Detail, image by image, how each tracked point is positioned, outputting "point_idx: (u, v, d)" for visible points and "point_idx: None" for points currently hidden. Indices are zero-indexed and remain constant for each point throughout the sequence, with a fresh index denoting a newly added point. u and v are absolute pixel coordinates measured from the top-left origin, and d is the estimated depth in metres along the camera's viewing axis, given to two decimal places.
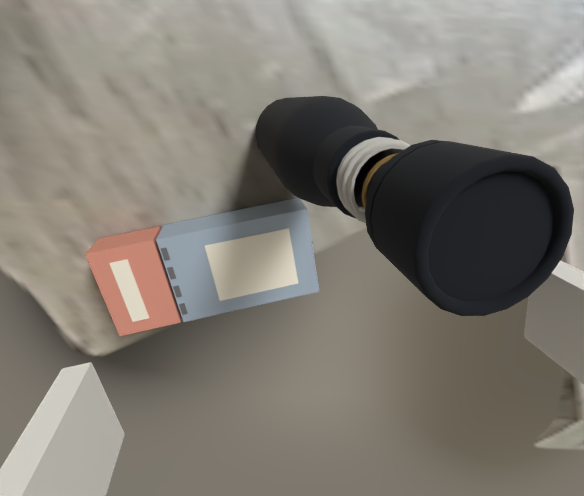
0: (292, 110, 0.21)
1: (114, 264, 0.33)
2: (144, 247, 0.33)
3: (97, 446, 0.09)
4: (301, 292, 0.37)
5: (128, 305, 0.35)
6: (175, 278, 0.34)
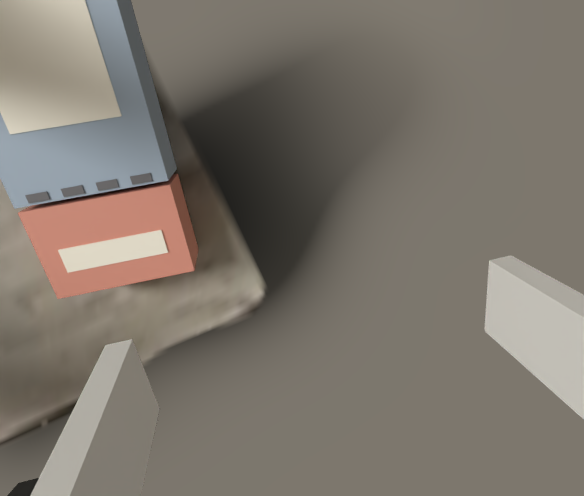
0: None
1: (69, 266, 0.23)
2: (33, 225, 0.22)
3: (140, 416, 0.10)
4: None
5: (139, 254, 0.24)
6: (81, 185, 0.22)
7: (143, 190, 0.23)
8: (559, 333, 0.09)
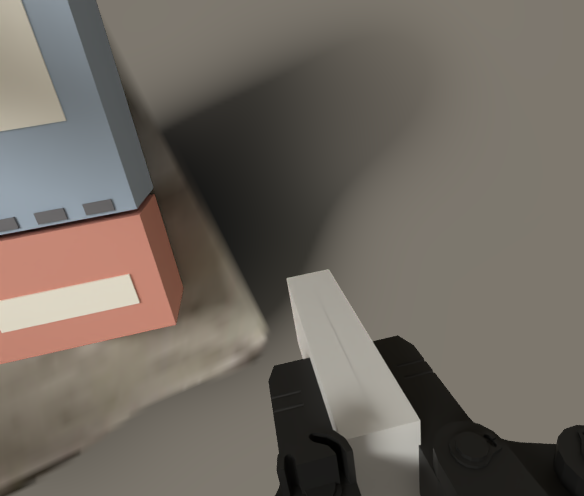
0: None
1: (3, 325, 0.17)
2: None
3: None
4: None
5: (100, 306, 0.18)
6: (13, 218, 0.15)
7: (102, 222, 0.16)
8: None
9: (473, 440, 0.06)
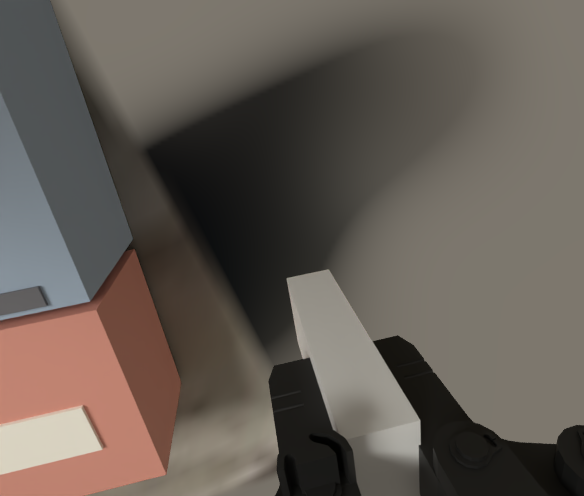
0: None
1: None
2: None
3: None
4: None
5: (33, 457, 0.10)
6: None
7: (27, 325, 0.09)
8: None
9: (473, 440, 0.06)
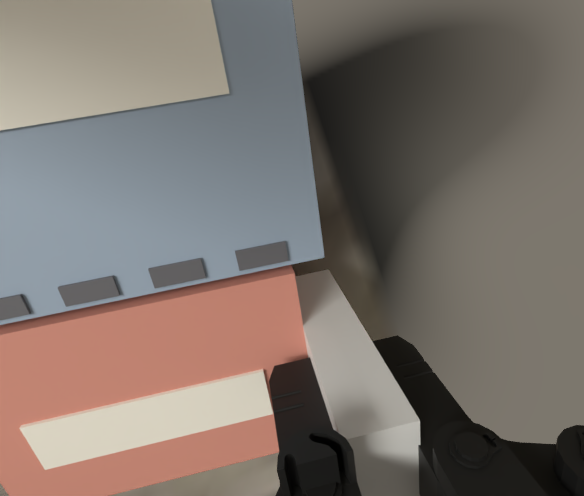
0: None
1: (48, 456, 0.10)
2: None
3: None
4: None
5: (208, 420, 0.10)
6: (112, 278, 0.08)
7: (230, 287, 0.09)
8: None
9: (472, 440, 0.06)
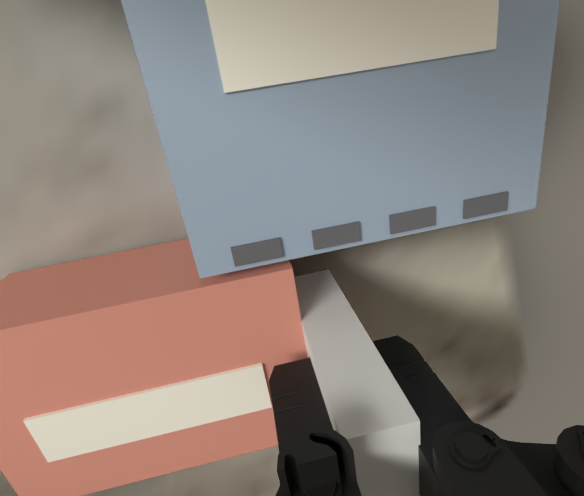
0: None
1: (51, 449, 0.10)
2: None
3: None
4: None
5: (209, 414, 0.11)
6: (359, 223, 0.09)
7: (229, 282, 0.09)
8: None
9: (472, 440, 0.06)
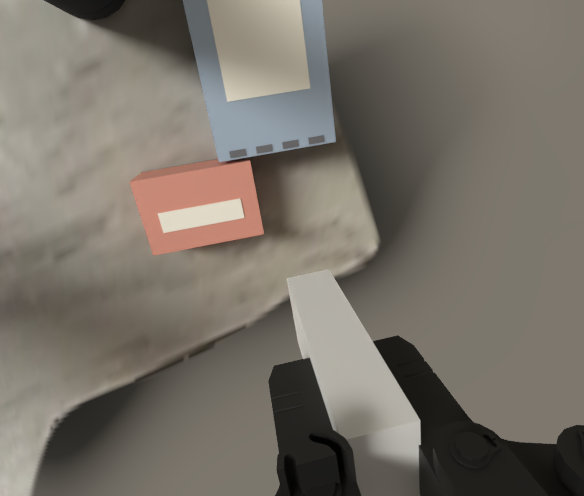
0: None
1: (165, 228, 0.29)
2: (140, 192, 0.27)
3: None
4: None
5: (221, 219, 0.29)
6: (271, 144, 0.27)
7: (228, 165, 0.28)
8: None
9: (472, 440, 0.06)
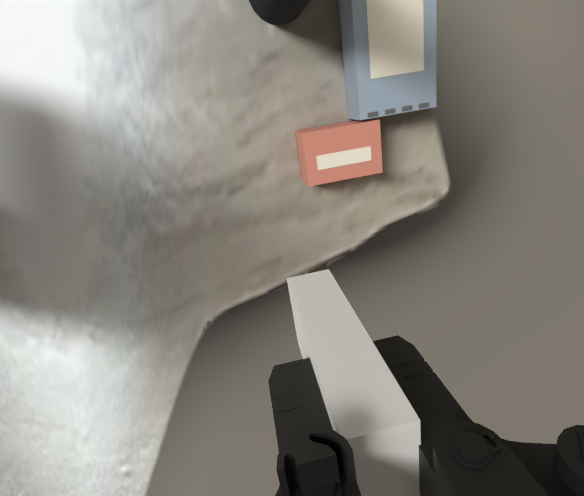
0: None
1: (319, 166, 0.42)
2: (307, 141, 0.41)
3: None
4: None
5: (356, 160, 0.42)
6: (395, 108, 0.41)
7: (365, 122, 0.41)
8: None
9: (473, 440, 0.06)
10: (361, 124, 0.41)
